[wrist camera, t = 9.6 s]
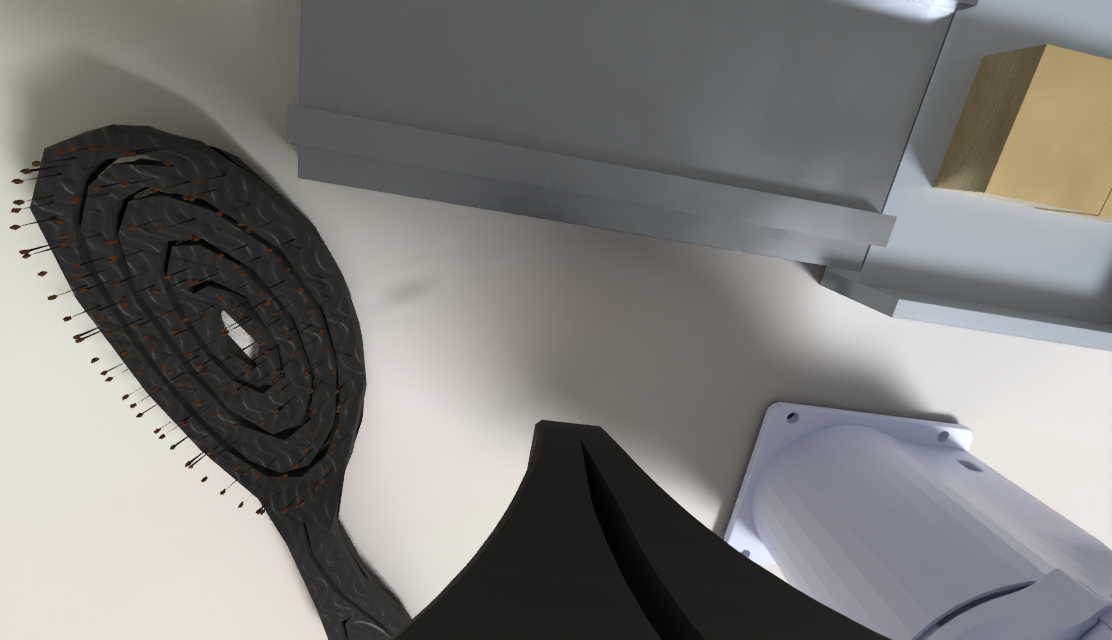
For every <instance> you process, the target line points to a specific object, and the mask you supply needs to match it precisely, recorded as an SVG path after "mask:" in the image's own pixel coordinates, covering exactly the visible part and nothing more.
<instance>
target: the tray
mask: <svg viewBox="0 0 1112 640" xmlns="http://www.w3.org/2000/svg"><path fill="white" fill-rule="evenodd" d="M1044 44H1049V45H1053V46H1057V47H1062V48H1066V49H1070V50H1074V51H1078V52H1082V53H1086V54H1090V55H1094V56H1098V57H1102V58H1107V59H1111V60H1112V0H978V3H977V6H974V7H971V8H968V9H964V10H961V11H958V12H954V13H953V16H952V18H951V21H950V24H949V27H948V29H947V32H946V35H945V38H944V40H943V43H942V46H941V49H940V51H939V54H938V57H937V60H936V62H935V65H934V68H933V71H932V73H931V76H930V79H929V82H928V84H927V87H926V90H925V93H924V95H923V98H922V101H921V104H920V106H919V109H918V112H917V115H916V117H915V120H914V123H913V126H912V128H911V131H910V134H909V137H908V139H907V142H906V145H905V148H904V150H903V153H902V156H901V159H900V161H899V164H898V167H897V170H896V172H895V175H894V178H893V181H892V183H891V186H890V189H889V192H888V194H887V197H886V200H885V203H884V205H883V208H882V211H881V214H886V215H891V216H896V217H897V219H896V222H895V225H894V228H893V230H892V233H891V236H890V238H889V241H888V244H887V246H886V247H881V246H875V245H869V247H868V249H867V252H866V255H865V258H864V260H863V263H862V266H861V269H860V271H854V270H848V269H842V268H836V267H830V266H826V268H825V271H824V274H823V277H822V280H821V283H820V285H821V286H824V287H826V288H828V289H830V290H832V291H835V292H837V293H839V294H841V295H844V296H846V297H848V298H850V299H852V300H855V301H857V302H859V303H861V304H864V305H866V306H868V307H870V308H872V309H875V310H877V311H879V312H881V313H884V314H886V315H888V316H890V317H893V318H900V319H906V320H913V321H919V322H926V323H932V324H939V325H945V326H952V327H958V328H964V329H971V330H977V331H984V332H990V333H997V334H1003V335H1010V336H1016V337H1023V338H1029V339H1036V340H1042V341H1048V342H1055V343H1061V344H1068V345H1074V346H1081V347H1087V348H1094V349H1100V350H1107V351H1112V223H1106V222H1101V221H1096V220H1091V219H1086V218H1081V217H1075V216H1070V215H1065V214H1060V213H1055V212H1050V211H1045V210H1039V209H1036V207H1031V206H1025V205H1020V204H1015V203H1010V202H1005V201H1000V200H994V199H989V198H984V197H979V196H974V195H969V194H964V193H958V192H953V191H948V190H943V189H938V188H933V185H934V182H935V180H936V177H937V175H938V172H939V169H940V167H941V164H942V162H943V159H944V156H945V154H946V151H947V149H948V146H949V144H950V141H951V138H952V136H953V133H954V131H955V128H956V125H957V123H958V120H959V118H960V115H961V113H962V110H963V107H964V105H965V102H966V100H967V97H968V94H969V92H970V89H971V87H972V84H973V82H974V79H975V76H976V74H977V71H978V69H979V66H980V63H981V61H982V58H983V56H986V55H991V54H996V53H1002V52H1007V51H1012V50H1018V49H1023V48H1028V47H1034V46H1039V45H1044Z"/></svg>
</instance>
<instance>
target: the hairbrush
mask: <svg viewBox="0 0 1112 640" xmlns="http://www.w3.org/2000/svg"><path fill="white" fill-rule="evenodd" d="M136 155H147V156H150V157H152V158H155V159H158V160H160V161H157V160H149V159H138V160H136V161H133V162H125V163H117V164H113V165H112V166H111V167H109V166H110V165H111V164H112V163H113V162H114V161H116V160H117V159H118V158H120V157H128V156H136ZM32 165H33V166H40V168H38V169H31V170H29V169H22V170H21V171H20V172H22V173H24V174H29V173H31V172H33V171H38V170H39V173H38V177H37V178H33V179H37V181H36V185H35V190H34V194H33V198H32V202H31V206H30V207H29V208H30V209H31V211H32V213H33V215H34V217H35V219H36V221H37V222H33V223H38V225H39V227H40V229H41V231H42V233H43V235H44V237H45V239H46V241H47V242H48V244H49V245H46V246H50V249H47V250H44V251H48V250H52V252H53V254H54V256H55V258H56V260H57V262H58V264H59V266H60V268H61V270H62V272H63V274H64V276H65V278H66V280H67V282H68V284H69V286H70V288H71V289H72V290H71V291H73V293H74V295H75V297H76V299H77V300H78V302H79V303H80V304H81V306H82V307H83V308H84V310H85V311H84V312H87V314H88V315H89V316H90V318H91V319H92V320H93V322H94V323H95V324H96V326H97V328H95V329H98V328H99V330H100V331H101V332H102V334H103V335H104V336H105V338H106V339H107V340H108V342H109V343H110V344H111V346H112V347H113V348H114V350H115V351H116V352H117V354H118V355H119V356H120V358H121V359H122V360H123V362H124V363H125V364H126V366H127V367H128V368H129V370H130V371H131V372H132V374H133V375H134V376H135V378H136V379H137V380H138V382H139V383H140V384H141V386H142V387H143V388H144V390H145V391H146V392H147V393H148V394H149V396H150V397H151V398H152V399H153V400H154V401H155V402H156V403H157V404H158V405H159V406H160V407H161V408H162V409H163V410H164V411H165V413H166V414H167V415H168V416H169V417H170V418H171V419H172V421H174V422H175V423H176V424H177V425H178V426H179V427H180V428H181V430H182V431H183V432H184V433H185V434H186V435H187V437H189V438H190V439H191V440H192V441H193V442H194V443H195V444H196V446H197V447H198V448H199V449H200V450H201V451H202V453H205V454H206V455H207V456H208V457H209V458H211V459H212V460H213V461H214V462H215V463H216V464H218V465H219V466H220V467H221V468H222V469H224V470H225V471H226V472H227V473H228V474H229V475H231V476H232V477H233V478H234V479H235V480H236V481H238V482H239V483H240V484H241V485H242V486H244V487H245V488H246V489H247V490H248V491H249V492H251V493H252V494H253V495H254V496H255V497H257V498H258V499H259V501H260V502H261V504H262V507H261V508H260V509H258V510H257V511H256V513H257V514H259V513H260V514H261V515H262V514H263V513H264V512H265V510H266V512H267V514H268V515H269V517H270V518H271V520H272V522H273V523H274V525H275V526H276V528H277V530H278V531H279V533H280V534H281V536H282V538H283V539H284V541H285V542H286V544H287V546H288V548H289V550H290V552H291V554H292V556H293V558H294V561H295V563H296V565H297V567H298V569H299V571H300V574H301V576H302V578H303V580H304V582H305V584H306V587H307V589H308V591H309V593H310V595H311V597H312V600H313V602H314V604H315V606H316V608H317V611H318V613H319V616H320V619H321V621H322V624H323V627H324V629H325V632H326V635H327V637H328V640H389V639H390V638H391V637H393V636H394V635H395V634H396V633H397V632H398V631H399V630H401V629H402V628H403V627H404V626H405V625H406V624H407V623H409V622H410V621H411V620H412V619H411V618H410V616H409V614H408V613H407V612H406V611H405V610H404V609H403V608H402V607H401V606H399V605H398V604H397V603H396V602H395V601H394V600H393V599H392V598H391V597H390V596H389V595H388V594H387V593H386V592H385V591H384V590H383V589H382V588H381V587H380V586H379V585H378V584H377V583H376V582H375V581H374V580H373V579H372V578H371V576H370V574H369V573H368V571H367V569H366V567H365V565H364V564H363V562H362V560H361V558H360V556H359V555H358V553H357V551H356V549H355V547H354V546H353V544H352V542H351V540H350V538H349V537H348V535H347V533H346V531H345V529H344V528H343V526H342V524H341V522H340V520H339V519H338V517H339V510H340V503H341V496H342V488H343V481H344V474H345V470H346V467H347V464H348V462H349V460H350V457H351V455H352V452H353V448H354V443H355V440H356V437H357V434H358V431H359V428H360V425H361V422H362V419H361V421H360V424H359V419H360V415H361V410H362V405H363V407H364V396H365V391H366V385H367V383H366V373H365V362H364V351H363V341H362V335H361V330H360V325H359V321H358V318H357V315H356V312H355V308H354V305H353V303H352V300H351V297H352V296H351V297H350V295H351V294H349V293H350V292H349V289H348V287H347V285H346V282H345V280H344V277H343V275H342V273H341V271H340V269H339V267H338V265H337V263H336V262H335V260H334V258H333V256H332V255H331V253H330V251H329V250H328V248H327V246H326V245H325V243H324V241H323V240H322V238H321V236H320V235H319V233H318V231H317V230H316V228H315V226H314V225H313V224H311V223H310V222H309V221H308V220H307V219H306V218H305V217H304V216H303V215H302V214H300V213H299V212H298V211H297V210H296V209H295V208H294V207H293V206H292V205H290V204H289V203H288V202H287V201H286V200H285V199H284V198H283V197H282V196H281V195H280V194H278V193H277V192H276V191H275V190H274V189H273V188H272V187H271V186H269V185H268V184H267V183H266V182H265V181H264V180H263V179H262V178H261V177H259V176H258V175H257V174H256V173H255V172H254V171H253V170H252V169H251V168H249V167H248V166H247V165H246V164H245V163H244V162H243V161H242V160H241V159H239V158H238V157H237V156H234V155H232V154H230V153H227V152H225V151H223V150H220V149H218V148H215V147H211V146H208V145H206V144H204V143H203V142H201V141H198V140H194V139H190V138H186V137H181V136H177V135H173V134H169V133H166V132H164V131H161V130H158V129H155V128H152V127H149V126H131V125H115V124H113V125H110V126H106V127H102V128H98V129H94V130H90V131H86V132H84V133H82V134H79V135H77V136H74V137H72V138H69V139H67V140H64V141H62V142H59V143H57V144H55V145H52V146H50V147H47V148H45V149H44V153H43V157H42V161H41V162H39V161H34V162H32ZM107 167H109V168H108V169H107V170H106V171H105V172H104V173H103V174H101V173H102V172H103V171H104V170H105V169H106V168H107ZM99 174H101V175H100V176H99ZM98 176H99V177H98ZM28 180H31V179H28ZM12 182H14V183H15V184H20V183H22V182H24V180H23V181H22V180H20V179H14V180H12ZM148 188H154V189H152V190H154V191H156V192H157V193H154V194H150V195H147V196H144V197H140V198H137V199H134V200H133V198H134V195H135V194H137V193H139V192H141V191H144V190H146V189H148ZM160 190H163V191H167V192H171V193H173V194H168V193H164V192H159V191H160ZM28 201H30V200H28ZM23 203H24V201H23V200H15V201H14V202H13V204H17V205H21V204H23ZM21 209H22V208H12V211H11V212H15V213H18V212H19V211H20V210H21ZM24 209H26V208H24ZM33 223H30V224H33ZM26 225H28V224H26ZM22 226H24V225H22ZM20 227H21V226H19V225H13V226H11V227H10V229H14V230H17V229H18V228H20ZM178 240H186V241H184V242H182V243H179V244H177V245H174V244H175V243H176V242H177V241H178ZM173 245H174V246H173ZM46 246H42V247H38V248H34V249H29V250H21V251H20V252H19V253H21V254H25V255H24V256H22V257H23V258H25V259H26V258H28V257H30V256H31V255H32V254H31V255H29V254H28V253H29V252H30V251H33V250H36V249H39V248H43V247H46ZM44 251H41V252H44ZM37 253H40V252H37ZM34 254H36V253H34ZM46 273H47V272H44V271H42V272H40V273H38V275H39V276H44V275H45V274H46ZM209 279H210V280H212V281H211V282H209V283H208V284H206V285H204V286H203V284H204V281H207V280H209ZM68 292H70V291H68ZM66 293H67V292H66ZM63 294H64V293H63ZM60 295H61V294H60ZM56 297H58V295H53V296H52V295H51V296H49V297H48V300H53V299H56ZM320 306H321V308H322V309H323V311H324V314H325V316H324V314H323V312H322V310H321V308H320ZM223 310H224V311H225V312H226V313H227V314H228V315H229V316H230V317H231V318H232V319H233V320H234V321H235V322H236V323H238V324H239V326H241V327H242V328H243V329H244V330H245V331H246V332H247V333H248V334H249V335H250V336H251V337H252V338H253V339H254V340H255V341H256V342H257V343H258V344H259V351H258V357H257V362H253V360H251V359H250V358H249V357H248V356H247V355H246V354H245V352H244V351H243V350H245V349H246V348H248V347H249V346H251V345H252V344H251V345H249V346H248V347H246V348H244V349H241V348H240V347H239V346H238V344H237V343H236V342H234V341H233V340H232V339H231V338H230V337H231V336H230V337H229V336H228V333H229V331H228V330H227V329H226V327H225V328H224V326H225V325H223V324H224V323H223V320H222V316H221V312H222V311H223ZM220 311H221V312H220ZM84 312H82V313H84ZM80 314H81V313H80ZM77 315H79V314H77ZM291 315H292V316H291ZM75 316H76V315H75ZM292 317H293V318H294V320H295V322H294V320H293V318H292ZM325 317H326V318H325ZM71 319H72V318H71V316H69V317H65V318H64V319H63V320H64V321H69V320H71ZM236 323H234V324H236ZM295 323H296V324H295ZM234 324H233V325H234ZM327 324H328V325H327ZM231 326H232V325H231ZM239 326H237V327H239ZM229 327H230V326H229ZM237 327H235V328H237ZM328 327H329V328H328ZM235 328H234V329H235ZM95 329H92V330H90V331H87V332H85V333H82V334H78V335H75V336H74V337H73V338H74V339H77V340H75V341H76V343H79V342H82V341H83V340H84V339H85V338H87V337H90V336H92V335H94V334H96V333H98V332H100V331H98V332H96V333H93V334H91V335H89V336H86V337H84V338H80V336H82V335H85V334H87V333H89V332H91V331H93V330H95ZM226 330H227V331H226ZM232 330H233V329H232ZM230 331H231V330H230ZM329 331H330V332H329ZM330 334H331V336H330ZM229 335H230V334H229ZM78 338H79V339H78ZM331 338H332V339H331ZM332 341H333V343H332ZM256 342H254V343H256ZM254 343H253V344H254ZM333 344H334V346H333ZM278 345H279V347H280V348H281V352H282V359H283V366H284V372H285V373H284V375H283V377H282V379H281V380H280V381H279V382H278V383H276V384H275V385H264V384H266V383H267V382H269V381H271V380H273V379H274V378H275V380H274V381H273V382H276V381H278V379H279V378H280V377H278V376H279V375H280V373H281V371H282V369H283V366H282V362H281V357H280V352H279V347H278ZM334 348H335V350H334ZM335 351H336V354H337V358H338V361H339V365H340V368H341V387H340V388H341V394H340V405H339V406H337V405H338V400H339V389H340V388H339V389H338V370H337V363H336V357H335ZM255 359H256V358H255ZM255 359H254V360H255ZM98 360H99V358H93V359H92V361H91V363H94V362H96V361H98ZM309 361H310V362H309ZM122 364H123V363H122ZM310 364H311V366H310ZM120 365H121V364H120ZM118 366H119V365H118ZM116 367H117V366H116ZM114 368H115V367H114ZM114 368H112V369H114ZM311 368H312V370H311ZM112 369H110V370H112ZM110 370H108V371H110ZM127 370H128V369H127ZM108 371H103V372H102V373H101V374H102V375H106V373H107V372H108ZM125 371H126V370H125ZM312 371H313V372H314V375H315V378H316V386H315V387H314V388H313V379H314V378H313V374H312ZM123 372H124V371H123ZM112 379H113V377H108V378H107V379H106V380H105V381H109V382H110V381H111V380H112ZM314 389H315V393H314V400H313V406H312V413H311V417H310V418H309V419H308V420H307V421H306V422H305V423H304V424H303V425H302V426H300V427H297V428H292V427H294V426H297V425H300V424H301V423H302V421H303V418H304V416H305V414H306V412H307V410H308V408H309V406H310V403H311V400H312V392H313V390H314ZM138 390H139V389H138ZM136 391H137V390H136ZM133 393H134V392H133ZM131 394H132V393H131ZM129 395H130V394H129ZM129 395H128V394H127V395H125V396H123V397H122V398H123V400H124V399H127V398H128V396H129ZM149 396H148V397H149ZM146 398H147V397H146ZM143 400H144V399H143ZM141 401H142V400H141ZM138 403H139V402H138ZM157 404H156V405H157ZM156 405H155V406H156ZM135 406H137V405H136V403H134V404H132V405H130V407H131V408H134V407H135ZM153 407H154V406H153ZM153 407H152V408H153ZM339 408H340V419H339V426H338V428H337V429H335V432H334V434H335V435H334V438H333V440H332V442H331V443H330V445H328V446H327V447H326V448H325V449H323V450H322V451H321V452H320V453H319V454H317V453H318V451H319V450H320V448H321V447H322V445H323V444H324V443H325V442H326V441H328V439H329V437H330V434H331V432H332V429H333V424H334V420H335V415H336V412H337V413H338V412H339ZM150 409H151V408H150ZM148 410H149V409H148ZM148 410H147V411H148ZM145 412H146V411H145ZM145 412H143V413H145ZM143 413H139V414H138V415H137V416H136V417H141V416H142V415H143ZM362 418H363V413H362ZM169 423H170V422H169ZM358 424H359V426H358ZM166 425H167V424H166ZM163 427H164V426H163ZM175 428H176V427H175ZM289 428H292V429H289ZM294 429H297V430H294ZM160 430H161V428H160V429H156V430H155V431H154V433H155V434H156V433H158V432H159V431H160ZM172 430H173V429H172ZM164 437H166V436H165V435H164V434H162V435H161V436H160V437H159V438H158V439H163V438H164ZM187 437H186V438H187ZM186 438H184V439H183V440H185V439H186ZM183 440H181V441H180V442H178V443H177V444H175V445H172V446H171V448H170V449H174V448H175V447H176V446H177V445H178V444H179V443H181V442H182V441H183ZM202 453H201V454H202ZM201 454H199V455H198V456H197V457H195V458H194V459H193V460H191V461H188V462H187V463H186V465H185V467H187V466H189V465H190V464H191V462H193V461H194V460H195V459H196V458H198V457H199V456H200V455H201ZM316 454H317V455H316ZM204 456H205V455H204ZM204 456H203V457H204ZM203 457H202V458H203ZM202 458H200V459H202ZM200 459H199V460H200ZM199 460H198V461H199ZM198 461H196V462H195V463H193V464H192V465H190V466H189V468H193V466H194V464H196V463H197V462H198ZM207 479H208V478H207V476H206V477H204V478H203V479H202V480H201V481H202V482H204V481H206V480H207ZM236 481H235V482H236ZM233 483H234V482H233ZM233 483H232V484H233ZM232 484H231V485H232ZM231 485H230V486H231ZM230 486H229V487H230ZM225 490H226V489H224V490H223V491H221V492H220V494H221V495H222V494H224V493H225ZM242 505H243V502H242V503H241V504H240V505H239V506H238V508H239V507H242ZM263 507H264V510H263V509H262V508H263ZM261 509H262V511H261ZM347 618H348V619H347Z"/></svg>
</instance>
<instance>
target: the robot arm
mask: <svg viewBox="0 0 1112 640" xmlns="http://www.w3.org/2000/svg"><path fill="white" fill-rule="evenodd" d="M791 413H794V415H793V417H791V418H790V419H787V417H788V415H789V414H791ZM939 433H940V435H939ZM973 437H974V435H973V432H972V430H971V429H969V428H968V427H966V426H964V425H960V424H952V423H944V422H936V421H928V420H920V419H912V418H904V417H896V416H888V415H880V414H873V413H865V412H857V411H849V410H841V409H833V408H825V407H817V406H809V405H801V404H793V403H785V402H776V403H774V404H772V405H771V406H770V407H769V408H768V410H767V411H766V414H765V417H764V420H763V423H762V426H761V429H760V432H759V435H758V438H757V441H756V444H755V447H754V450H753V453H752V456H751V459H750V462H749V465H748V468H747V471H746V474H745V477H744V480H743V483H742V486H741V489H740V492H739V495H738V498H737V501H736V504H735V507H734V510H733V513H732V516H731V519H730V522H729V525H728V528H727V531H726V534H725V536H724V539H721V538H720V537H719V536H717V535H716V534H715V533H713V532H712V531H711V530H709V529H708V528H707V527H705V526H704V525H703V524H702V523H700V522H699V521H698V520H697V519H696V518H694V517H693V516H692V515H691V514H690V513H688V512H687V511H686V510H685V509H684V508H683V507H682V506H681V505H679V504H678V503H677V502H676V501H675V500H674V499H673V498H671V497H670V496H669V495H668V494H667V493H666V492H665V491H664V490H663V489H662V488H661V487H660V486H658V485H657V484H656V483H655V482H654V481H653V480H652V479H651V478H650V477H649V476H648V475H647V474H646V473H645V472H644V471H643V470H642V469H641V468H640V467H639V466H638V465H637V464H636V463H635V462H634V461H633V460H632V459H631V458H630V456H629V455H628V454H627V453H626V452H625V451H624V450H623V449H622V448H621V447H620V446H619V445H618V444H617V443H616V442H615V441H614V440H613V439H612V438H611V437H610V436H609V435H608V434H607V433H606V432H605V431H604V430H603V429H602V428H601V427H600V426H592V425H583V424H574V423H565V422H556V421H547V420H541V421H540V422H538V423H537V424H535V430H534V435H533V441H532V446H531V451H530V457H529V462H528V468H527V471H526V474H525V476H524V478H523V480H522V482H521V484H520V486H519V488H518V490H517V492H516V494H515V496H514V498H513V500H512V502H511V503H510V505H509V507H508V508H507V510H506V512H505V513H504V515H503V517H502V518H501V520H500V521H499V523H498V524H497V526H496V527H495V529H494V530H493V532H492V533H491V534H490V536H489V537H488V538H487V540H486V541H485V542H484V544H483V545H482V546H481V548H480V549H479V550H478V552H477V553H476V554H475V555H474V557H473V558H472V559H471V560H470V561H469V563H468V564H467V565H466V566H465V567H464V568H463V569H462V570H461V572H460V573H459V574H458V575H457V576H456V577H455V578H454V579H453V580H452V581H451V582H450V583H449V584H448V585H447V586H446V588H445V589H444V590H443V591H442V592H441V593H440V594H439V595H438V596H437V597H436V598H435V599H434V600H433V601H432V602H431V603H430V604H429V605H428V606H427V607H426V608H425V609H423V610H422V611H421V612H420V613H419V614H418V615H417V616H415V617H414V618H413V619H412V620H411V621H410V622H409V623H407V624H406V625H405V626H404V627H403V628H402V629H401V630H399V631H398V632H397V633H396V634H395V635H394V636H393V637H391V638H390V639H389V640H1112V550H1110V549H1109V548H1108V547H1107V546H1106V545H1104V544H1103V543H1102V542H1101V541H1099V540H1098V539H1096V538H1095V537H1093V536H1092V535H1091V534H1089V533H1088V532H1086V531H1085V530H1083V529H1082V528H1080V527H1079V526H1077V525H1076V524H1074V523H1073V522H1071V521H1070V520H1068V519H1067V518H1065V517H1064V516H1062V515H1061V514H1059V513H1058V512H1056V511H1055V510H1053V509H1052V508H1050V507H1049V506H1047V505H1046V504H1044V503H1043V502H1041V501H1040V500H1038V499H1037V498H1035V497H1034V496H1032V495H1031V494H1029V493H1028V492H1026V491H1025V490H1023V489H1022V488H1020V487H1019V486H1017V485H1016V484H1014V483H1013V482H1011V481H1010V480H1008V479H1007V478H1005V477H1004V476H1002V475H1001V474H1000V473H998V472H997V471H995V470H994V469H992V468H991V467H989V466H988V465H986V464H985V463H983V462H982V461H980V460H979V459H977V458H976V457H974V456H973V455H971V454H970V453H968V452H967V451H968V448H969V446H970V444H971V442H972V440H973ZM743 550H745V551H744V552H741V551H743ZM740 552H741V553H740ZM758 564H766V565H777V566H778V567H779V569H780V570H781V572H782V573H783V575H784V577H785V578H786V580H787V581H788V583H789V584H790V585H789V584H788V583H786V582H785V581H783V580H782V579H780V578H778V577H777V576H775V575H774V574H772V573H771V572H769V571H767V570H766V569H764V568H763V567H761V566H759V565H758Z"/></svg>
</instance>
